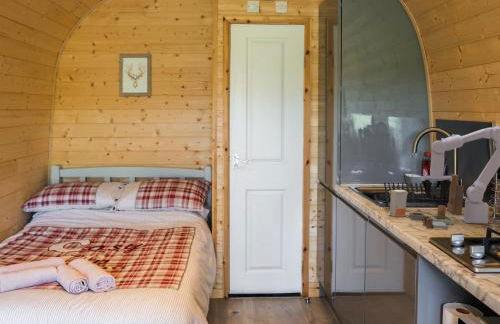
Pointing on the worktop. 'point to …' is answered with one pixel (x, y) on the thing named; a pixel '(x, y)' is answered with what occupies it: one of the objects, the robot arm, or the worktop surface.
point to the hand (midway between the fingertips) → (435, 196)
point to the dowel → (441, 212)
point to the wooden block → (455, 196)
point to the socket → (416, 216)
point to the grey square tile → (439, 225)
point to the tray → (446, 221)
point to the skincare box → (398, 203)
